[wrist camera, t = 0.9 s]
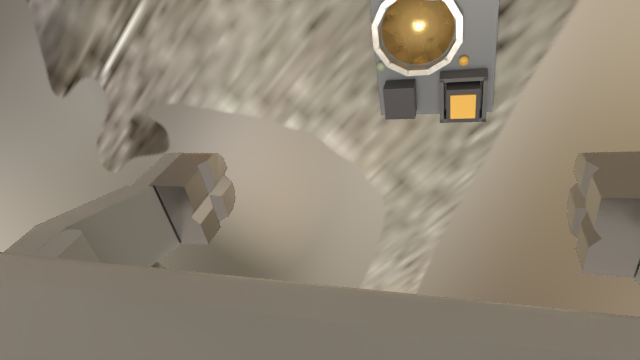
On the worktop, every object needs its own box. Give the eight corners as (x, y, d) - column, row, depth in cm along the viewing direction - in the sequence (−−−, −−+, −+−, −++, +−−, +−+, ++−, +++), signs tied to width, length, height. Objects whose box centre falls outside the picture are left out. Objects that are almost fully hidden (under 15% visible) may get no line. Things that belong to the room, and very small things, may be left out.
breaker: (446, 82, 43) (446, 91, 42) (480, 80, 42) (480, 89, 41) (447, 113, 45) (446, 123, 44) (478, 112, 44) (479, 122, 43)
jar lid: (370, -11, 41) (367, -8, 40) (463, -23, 38) (463, -20, 38) (378, 73, 46) (376, 78, 45) (462, 68, 43) (461, 73, 43)
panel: (370, -15, 42) (363, -6, 39) (500, -32, 38) (502, -23, 36) (383, 110, 50) (378, 125, 47) (491, 106, 46) (492, 122, 44)
